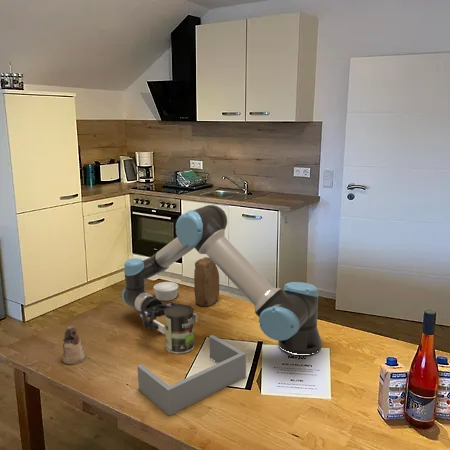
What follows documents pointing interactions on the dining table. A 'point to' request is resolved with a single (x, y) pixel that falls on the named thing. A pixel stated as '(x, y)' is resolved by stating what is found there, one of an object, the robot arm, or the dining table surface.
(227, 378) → the grey u-shaped bracket
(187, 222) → the robot arm
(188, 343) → the coffee can
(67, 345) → the figurine
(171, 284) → the ramekin
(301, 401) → the dining table surface
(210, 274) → the block
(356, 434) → the dining table surface
